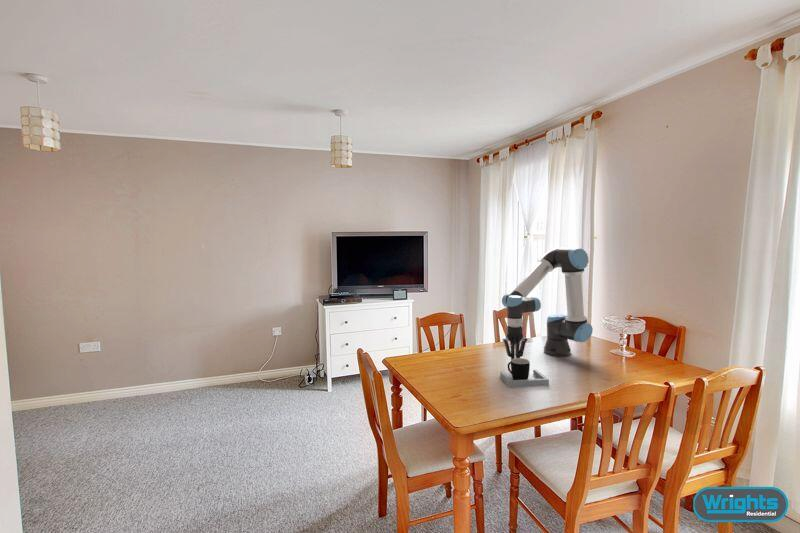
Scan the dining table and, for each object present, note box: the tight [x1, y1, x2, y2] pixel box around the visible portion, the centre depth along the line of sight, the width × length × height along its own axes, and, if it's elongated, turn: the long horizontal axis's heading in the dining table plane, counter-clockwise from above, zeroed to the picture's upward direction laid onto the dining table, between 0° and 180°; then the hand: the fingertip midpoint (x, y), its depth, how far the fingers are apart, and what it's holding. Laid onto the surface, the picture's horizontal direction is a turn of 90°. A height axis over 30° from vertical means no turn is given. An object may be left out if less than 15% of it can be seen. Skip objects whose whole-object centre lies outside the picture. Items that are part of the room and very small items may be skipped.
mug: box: [507, 357, 531, 380], centre depth 189 cm, size 12×9×10 cm
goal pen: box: [499, 368, 550, 389], centre depth 188 cm, size 14×19×3 cm
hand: (515, 369), depth 200 cm, fingers closed
